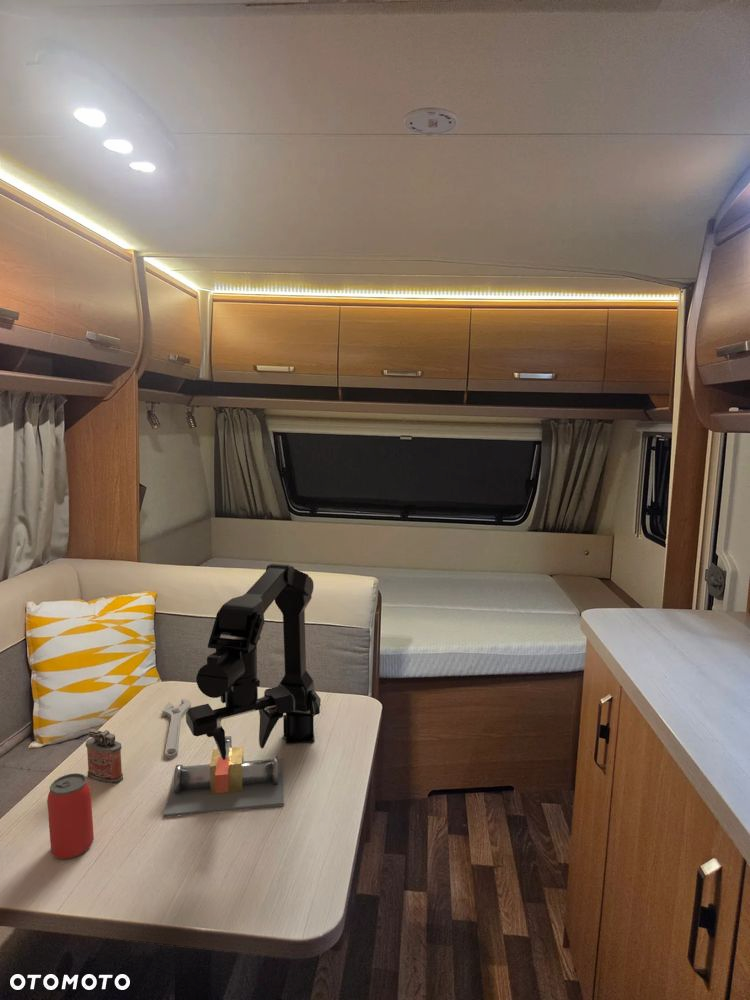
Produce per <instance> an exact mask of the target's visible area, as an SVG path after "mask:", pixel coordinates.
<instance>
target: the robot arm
mask: <svg viewBox="0 0 750 1000" xmlns="http://www.w3.org/2000/svg"><path fill="white" fill-rule="evenodd" d="M314 586H315V585H314V580H313V579H312V577H311V576H310V575H309V574H308V573H305V572H303V571H300V570H298V569H296V568H295V567H294V566H292V565H290V564H287V563H286V564H285V563H271V564H268V565H267V566H266V568H265V571H264V573H263V574H262V575H261V576H260V577H259V578H258V579H257V580H256V582H254V584H252V585H251V587H250V588H249V589H248V590H247V591H246V592H245V593H244V594H243V595H240V596H236V597H233V598H231V599H229V600H228V601H226V602H225V603H223V604H222V605H221V607H220V609H219V610H218V611H217V613H216V616H215V620H214V622H213V627H212V630H211V633H210V637H209V639H208V643H207V648H208V649H215V652H213V653H211V654H209V655H208V656H207V657H206V663H205V664H204V665H203V666H202V667H200V668H199V669H198V672H197V674H196V681H195V682H196V684H197V688H198V689H199V690H200V691H199V692H201V693H202V694H203V695H205V696H206V697H209V698H212V699H216V698H217V699H218V698H220V702H221V703H222V704H225V706H223V707H220V708H215V709H213V708H212V707H211V705H210V704H209V703H205V704H201V705H197V706H191V708H189V709H188V711H187V713H186V714H185V722H186V724H187V727H188V728H189V730H190V732H191V734H192V735H193V737H200V736H204V735H206V737H208V738H212V737H213V739H214V741H215V744H216V747H217V749H219V752H220V754H221V757H222V759H223V760H225V759H226V744H225V736H226V732H225V729H224V728H223V726H222V723H221V721H222V720H226V719H230V718H233V717H237V716H240V715H245V714H248V713H252V712H257V711H258V713H259V714H258V715H259V730H258V732H259V733H258V734H259V735H258V745H259V747H260V749H264V748H265V746H266V744H267V742H268V740H269V737H270V735H271V734H272V731H273V730H274V729H275V727H276V725H277V723H278V721H279V720H280V719H281V718H283V719H282V720H283V738H285V744H299V743H300V744H301V743H310V742H311V743H312V742H315V739H316V738H315V731H314V723H315V720H314V719H315V718H314V717H315V716H316V715H320V713H321V704H322V703H321V697H320V696H319V695H318V693H317V692H316V691H315V683H314V680H313V678H312V677H311V675H310V673H309V672H308V671H307V660H306V658H307V657H306V656H307V655H306V620H305V619H306V615H305V611H306V608H307V607H308V605H309V603H310V601H311V599H312V595H313V592H314ZM272 603H275V605H276V606H277V608H278V609H279V611H280V612H281V614H282V626H283V627H282V630H283V658H284V659H283V660H284V661H283V662H284V676H282V679H281V681H280V682H279V683H278V685H277V686H274V687H271V688H266V689H265V690H264V692H263V694H264V695H262V696H261V697H259V696H258V693H259V692H258V687H260V683H261V682H260V679H259V678H258V647H257V646H258V643H259V641H260V640H261V634H262V631H263V628H264V625H265V623H266V621H265V617H264V616H265V615H264V614H265V612H267V610H268V609H269V607H270V606H271V605H272ZM221 636H223V637H221ZM225 636H227V637H233V638H227V637H225ZM234 637H235V638H234Z"/></svg>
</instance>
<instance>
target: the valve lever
mask: <svg viewBox="0 0 750 1000" xmlns="http://www.w3.org/2000/svg"><path fill="white" fill-rule="evenodd" d="M225 744H226V759H225V760H223V759H222V757H221V754H220V758H218V760H217V766H216V772H215V793H221V792H228V789H229V781H230V759H231V755H232V748H233V746H232V735H228V736H226V735H225Z"/></svg>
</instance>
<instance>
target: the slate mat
mask: <svg viewBox="0 0 750 1000" xmlns="http://www.w3.org/2000/svg"><path fill="white" fill-rule="evenodd" d="M268 760H273V758H270V759H269V758H268V759H257V760H256V759H255V760H254V759H253V760H245V761H244V762H256V761H268ZM209 765H210V764H196V765H187V766H183V768H185V767H197V766H209ZM284 792H285V790H284V758H283V757H280V758H279V757H278V785H273V782H265V783H254V784H243V790H242V792H237V793H226V794H215V795H211V787H209V788H198V789H187V790H181V793H180V794H175V793H174V778H173V779H172V783H171V786H170V790H169V794H168V797H167V801H166V804H165V808H164V811H163V818H169V817H168V816H172V817H179V816H178V815H182V816H190V815H192V816H193V815H202V814H212V813H221V812H223V813H224V812H232V811H241V810H253V809H262V808H273V807H282V806H283V807H284V806H285V797H284V795H285V793H284Z"/></svg>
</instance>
